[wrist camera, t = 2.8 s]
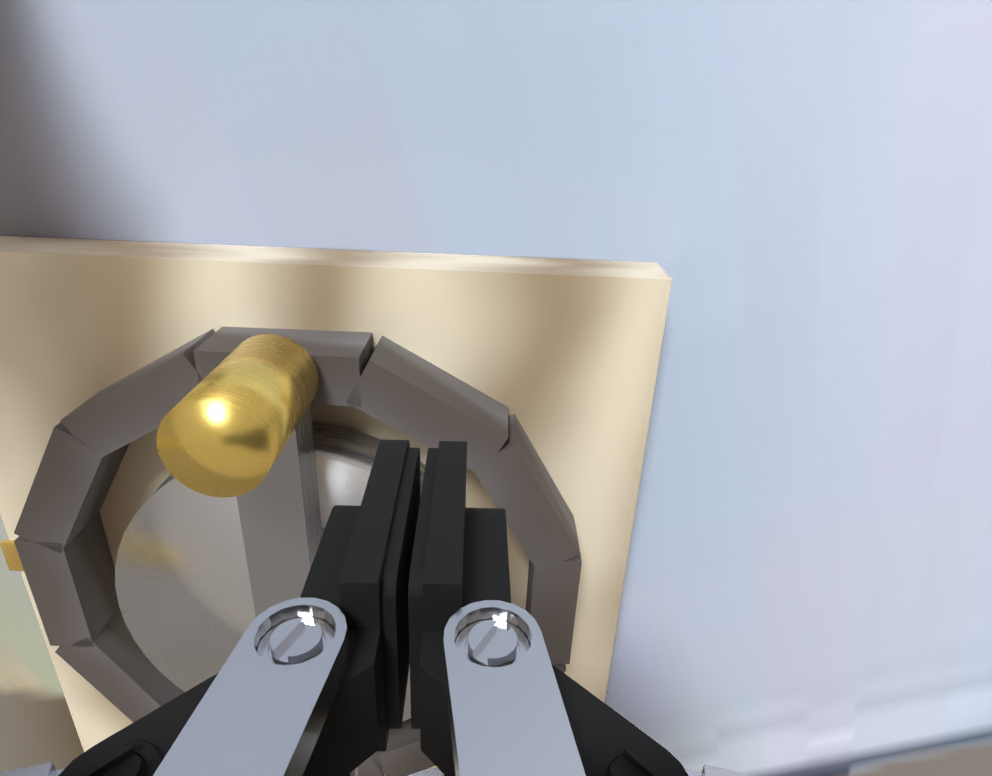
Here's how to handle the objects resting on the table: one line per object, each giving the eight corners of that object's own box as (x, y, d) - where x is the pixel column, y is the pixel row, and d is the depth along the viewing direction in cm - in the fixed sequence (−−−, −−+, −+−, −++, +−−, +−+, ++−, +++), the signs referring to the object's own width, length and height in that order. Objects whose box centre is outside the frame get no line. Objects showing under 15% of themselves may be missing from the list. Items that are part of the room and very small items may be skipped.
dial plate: (656, 262, 20) (690, 299, 17) (587, 731, 29) (599, 821, 26) (-46, 233, 20) (-168, 265, 16) (107, 714, 29) (51, 802, 26)
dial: (481, 694, 25) (476, 860, 20) (178, 684, 25) (88, 847, 20) (497, 318, 19) (495, 412, 13) (85, 301, 18) (-88, 389, 13)
